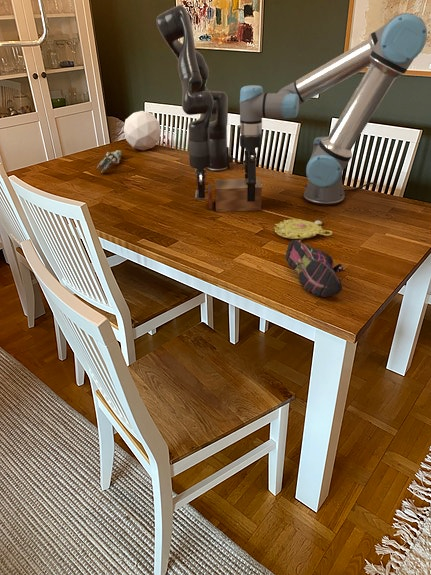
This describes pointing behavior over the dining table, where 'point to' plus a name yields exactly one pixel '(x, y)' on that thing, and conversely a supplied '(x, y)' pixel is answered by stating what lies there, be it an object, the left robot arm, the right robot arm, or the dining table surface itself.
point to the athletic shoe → (314, 269)
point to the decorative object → (300, 229)
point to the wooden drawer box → (236, 195)
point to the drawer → (205, 197)
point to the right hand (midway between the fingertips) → (249, 195)
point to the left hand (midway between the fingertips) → (201, 199)
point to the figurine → (110, 160)
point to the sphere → (142, 130)
